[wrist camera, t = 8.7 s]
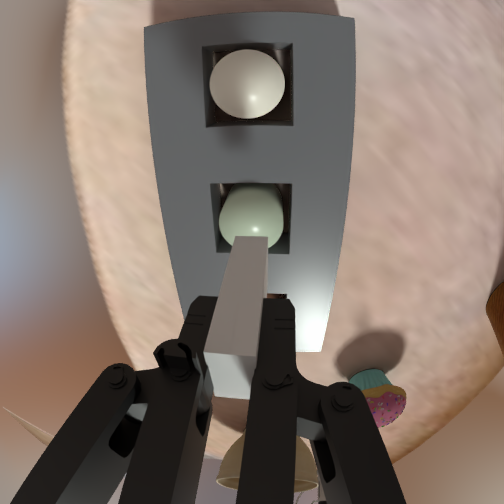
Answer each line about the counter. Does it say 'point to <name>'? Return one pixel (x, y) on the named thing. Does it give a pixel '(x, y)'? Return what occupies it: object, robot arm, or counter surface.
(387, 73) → the counter surface
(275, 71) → the white rounded piece
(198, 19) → the button panel
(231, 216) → the sage button
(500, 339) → the disposable coffee cup
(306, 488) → the planter bowl
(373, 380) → the cupcake
